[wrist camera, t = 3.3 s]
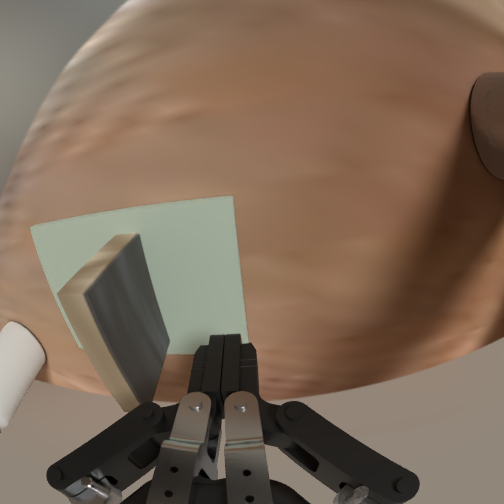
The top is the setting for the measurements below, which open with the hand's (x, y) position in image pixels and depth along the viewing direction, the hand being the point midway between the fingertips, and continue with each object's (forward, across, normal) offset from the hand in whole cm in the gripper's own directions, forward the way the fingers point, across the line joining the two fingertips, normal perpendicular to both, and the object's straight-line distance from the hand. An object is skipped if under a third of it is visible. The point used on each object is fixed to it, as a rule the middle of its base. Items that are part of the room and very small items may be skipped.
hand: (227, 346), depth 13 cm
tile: (+5, +6, 0) cm, 8 cm away
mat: (+6, +7, 0) cm, 9 cm away
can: (+6, +25, +7) cm, 27 cm away
